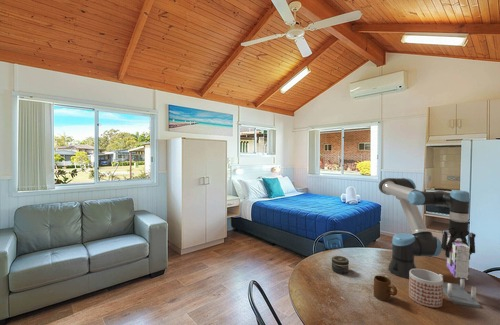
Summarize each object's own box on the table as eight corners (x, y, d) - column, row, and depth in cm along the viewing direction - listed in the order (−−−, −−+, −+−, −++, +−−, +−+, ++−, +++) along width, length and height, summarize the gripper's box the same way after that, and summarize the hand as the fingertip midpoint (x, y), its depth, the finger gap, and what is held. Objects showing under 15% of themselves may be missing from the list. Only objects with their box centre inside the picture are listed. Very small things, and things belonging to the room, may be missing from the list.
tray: (452, 303, 119) (452, 289, 119) (434, 282, 138) (434, 270, 138) (481, 308, 115) (482, 293, 115) (459, 286, 135) (459, 273, 134)
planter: (402, 291, 129) (403, 268, 128) (429, 292, 128) (430, 268, 128) (420, 307, 115) (421, 281, 115) (449, 308, 115) (450, 282, 114)
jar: (351, 272, 150) (352, 259, 150) (342, 276, 144) (342, 263, 144) (338, 265, 158) (338, 254, 158) (328, 269, 153) (328, 257, 152)
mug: (402, 305, 117) (402, 285, 117) (390, 308, 115) (391, 288, 114) (381, 291, 128) (381, 274, 128) (370, 294, 126) (370, 276, 126)
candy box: (446, 266, 134) (447, 236, 133) (459, 268, 131) (460, 238, 131) (453, 277, 121) (455, 245, 121) (469, 280, 119) (470, 247, 118)
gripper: (440, 220, 125) (438, 265, 125) (486, 224, 119) (484, 270, 120) (433, 217, 132) (432, 259, 133) (477, 220, 126) (475, 264, 127)
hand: (457, 264), depth 126 cm, fingers closed on candy box, 6 cm apart
